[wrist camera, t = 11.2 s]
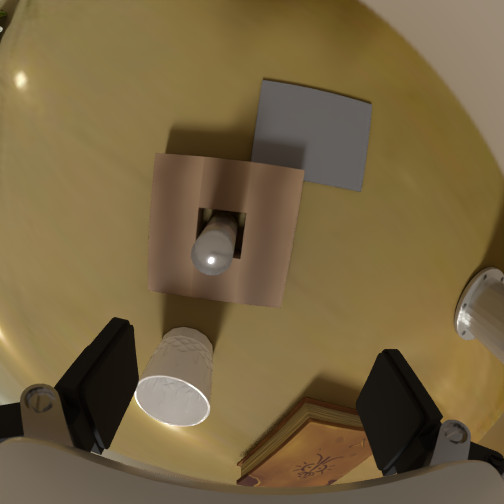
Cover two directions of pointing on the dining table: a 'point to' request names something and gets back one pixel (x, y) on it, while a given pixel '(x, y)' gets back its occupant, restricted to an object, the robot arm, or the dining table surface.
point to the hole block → (230, 199)
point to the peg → (215, 245)
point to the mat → (313, 133)
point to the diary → (308, 448)
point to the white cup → (178, 379)
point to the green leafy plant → (3, 14)
